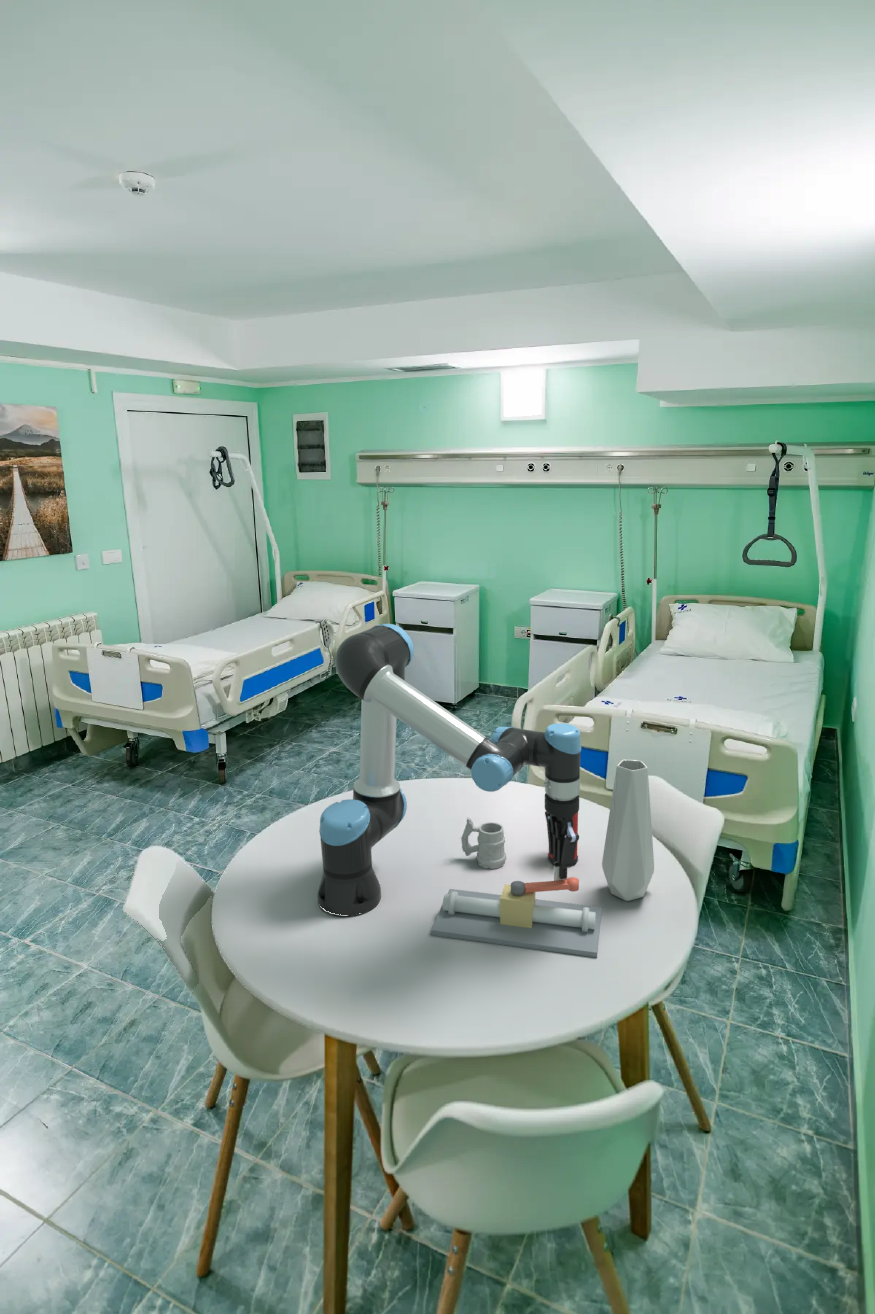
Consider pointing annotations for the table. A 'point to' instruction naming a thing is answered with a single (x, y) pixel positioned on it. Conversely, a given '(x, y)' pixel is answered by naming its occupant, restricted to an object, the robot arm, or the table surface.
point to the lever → (544, 886)
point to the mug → (486, 844)
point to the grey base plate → (519, 921)
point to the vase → (629, 833)
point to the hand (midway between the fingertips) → (560, 888)
